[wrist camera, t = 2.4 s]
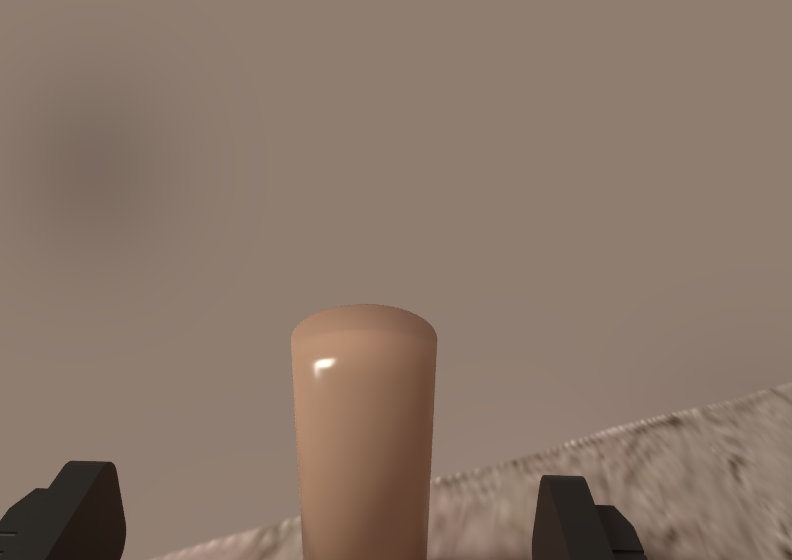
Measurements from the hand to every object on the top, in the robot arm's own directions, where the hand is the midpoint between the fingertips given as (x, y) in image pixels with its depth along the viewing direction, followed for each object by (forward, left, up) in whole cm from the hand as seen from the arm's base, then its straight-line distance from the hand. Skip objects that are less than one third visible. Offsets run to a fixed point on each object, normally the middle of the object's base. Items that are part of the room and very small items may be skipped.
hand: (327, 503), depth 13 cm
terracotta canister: (0, -11, -17) cm, 20 cm away
